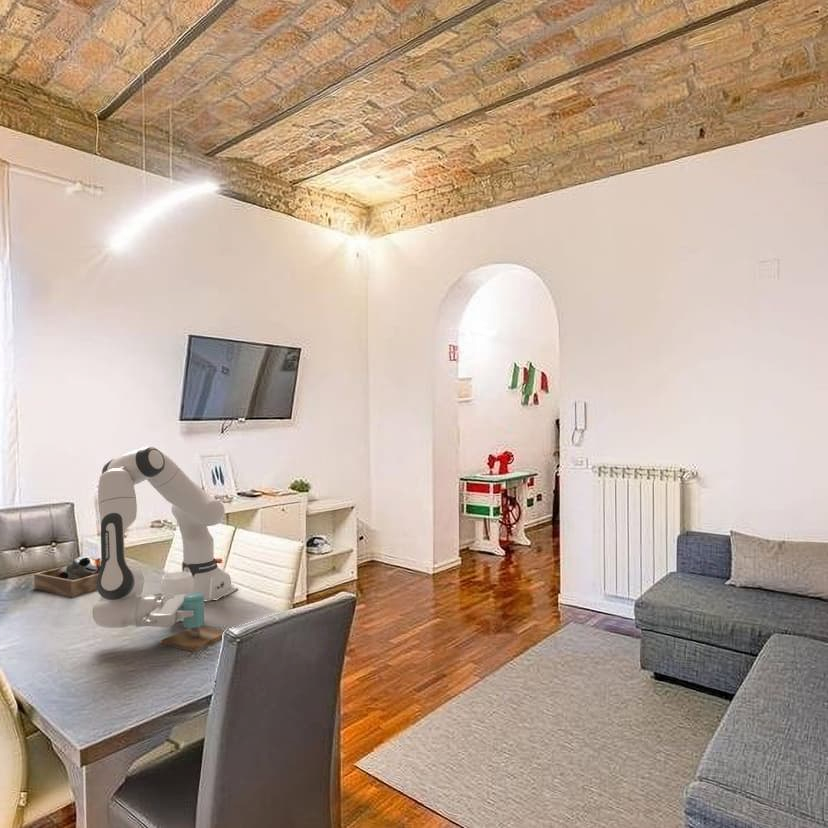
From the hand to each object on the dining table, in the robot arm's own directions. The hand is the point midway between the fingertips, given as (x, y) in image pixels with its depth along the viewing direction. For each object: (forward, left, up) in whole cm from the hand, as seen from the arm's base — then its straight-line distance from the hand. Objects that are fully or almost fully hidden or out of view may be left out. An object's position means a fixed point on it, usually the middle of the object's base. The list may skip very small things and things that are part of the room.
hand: (197, 608), depth 185 cm
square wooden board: (0, -1, -10) cm, 10 cm away
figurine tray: (-22, -90, -10) cm, 93 cm away
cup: (-11, -21, -10) cm, 25 cm away
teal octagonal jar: (+1, -1, -5) cm, 5 cm away
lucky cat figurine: (-24, -93, -10) cm, 97 cm away
